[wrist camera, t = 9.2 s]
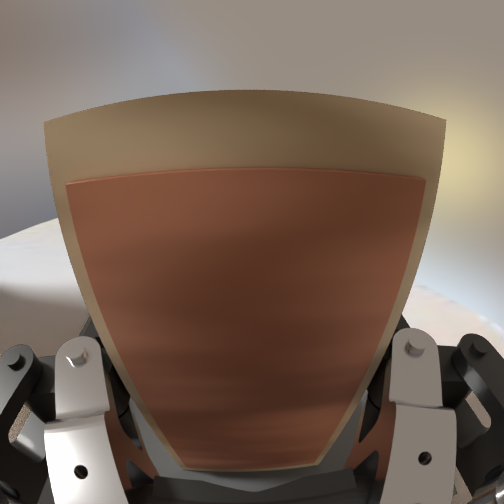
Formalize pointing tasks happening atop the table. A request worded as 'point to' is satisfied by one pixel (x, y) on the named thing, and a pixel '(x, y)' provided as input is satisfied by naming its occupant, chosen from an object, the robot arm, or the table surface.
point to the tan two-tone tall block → (245, 258)
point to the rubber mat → (236, 480)
